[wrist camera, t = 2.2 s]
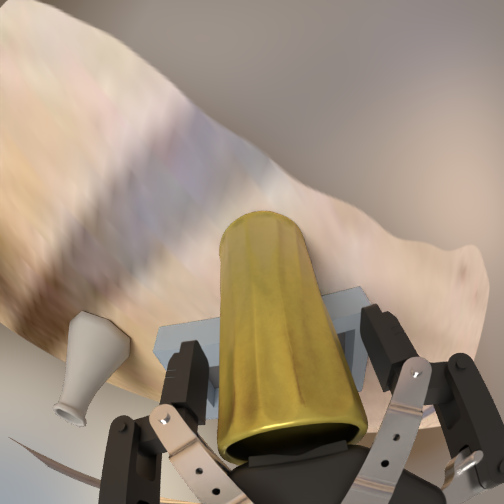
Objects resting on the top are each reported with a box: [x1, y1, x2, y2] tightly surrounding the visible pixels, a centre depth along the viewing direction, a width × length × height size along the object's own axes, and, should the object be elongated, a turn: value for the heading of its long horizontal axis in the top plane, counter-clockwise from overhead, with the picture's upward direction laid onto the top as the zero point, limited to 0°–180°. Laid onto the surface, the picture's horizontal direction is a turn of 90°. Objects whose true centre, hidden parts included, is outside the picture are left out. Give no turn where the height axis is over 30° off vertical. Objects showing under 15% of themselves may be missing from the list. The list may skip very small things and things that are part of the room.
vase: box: [217, 211, 368, 466], centre depth 14 cm, size 6×6×14 cm
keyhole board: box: [153, 286, 371, 419], centre depth 24 cm, size 13×18×3 cm
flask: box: [53, 311, 130, 427], centre depth 20 cm, size 7×7×10 cm
